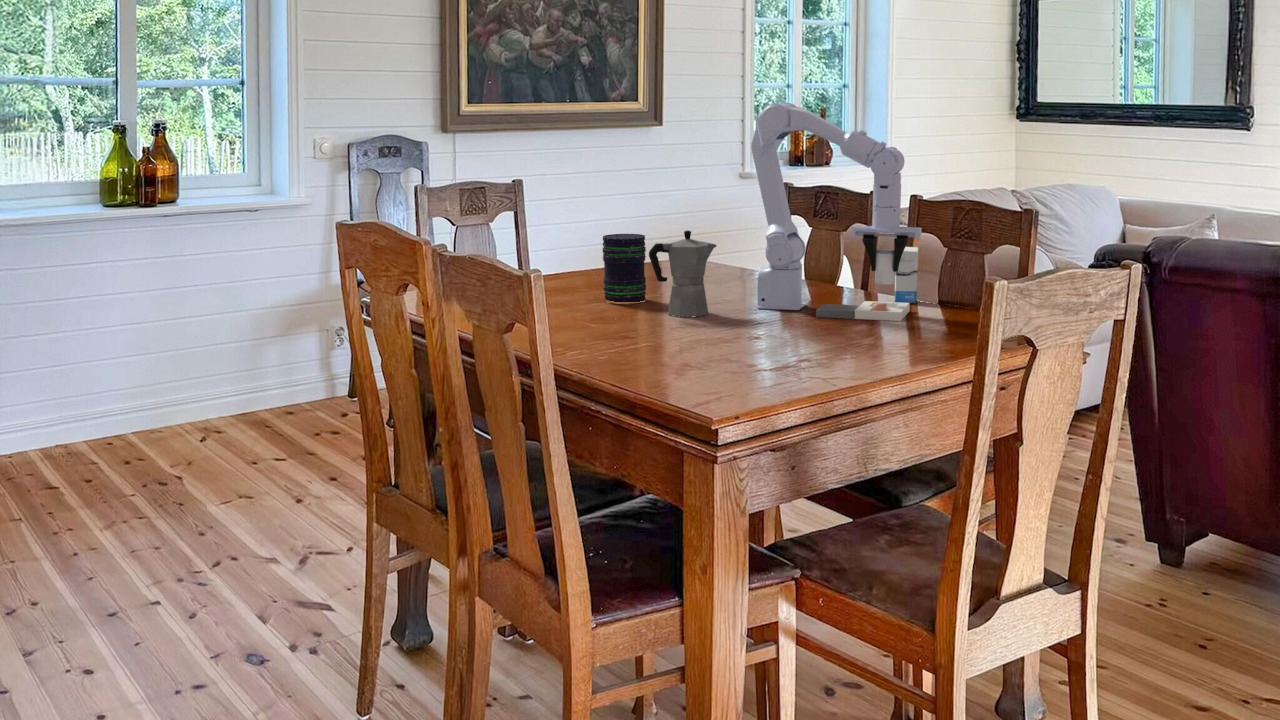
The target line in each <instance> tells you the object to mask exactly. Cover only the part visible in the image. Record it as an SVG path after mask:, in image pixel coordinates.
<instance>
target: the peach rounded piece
mask: <svg viewBox="0 0 1280 720" xmlns="http://www.w3.org/2000/svg"><path fill="white" fill-rule="evenodd" d="M873 311H887V304H886V303H873Z"/></svg>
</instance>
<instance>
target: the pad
mask: <svg viewBox="0 0 1280 720" xmlns="http://www.w3.org/2000/svg"><path fill="white" fill-rule="evenodd" d="M860 305H861V304H860ZM860 305H859V304H839V303H838V304H837V303H836V304H835V303H823V304H822V305H820V306H819V307H817V309H815V318H830V319H850V320H855V310H856V309H857V308H858V307H859V306H860Z"/></svg>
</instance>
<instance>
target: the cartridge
mask: <svg viewBox="0 0 1280 720" xmlns="http://www.w3.org/2000/svg"><path fill="white" fill-rule="evenodd" d="M893 267H894V249H891V248H890V249H889V248H880V249H877V250H876V262H875V271H874V283H875V285H876V284H877V285H881V286H882V285H886V286H887V285H889V286H890V285H895V272H894V270H893Z"/></svg>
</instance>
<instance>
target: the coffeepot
mask: <svg viewBox="0 0 1280 720" xmlns="http://www.w3.org/2000/svg"><path fill="white" fill-rule="evenodd" d="M683 234H684V239H681V240H675V241H672V242H667V243H663V242H662V243H660V242H659V243H655V244H654V245H653V246H652V247H651V248H650V250H649V251H648V257H649V260H650V263H651V266H652V269H653V272H654V275H655V278H656V280H657V281H658V282H659V283H661V282H662V283H665V282H667V281H668V277H666V276H665V277H664V276H663V275H662V267H661V266H660V262H659V257H658V255H657V254H658V253H664V254H665V253H666V254H668V260H669V266H670V267H669V268H670V275H671V277H672V284H671V289H670V290H671V292H670V298H669V305H668V312H667V314H668V316H670V315H674V316H680V317H679V318H693V317H692V316H701V317H704V316H703V315H706V316H707V314H708V315H709V309H708V304H707V303H708V302H707V295H706V290H705V288H706V287H705V283H704V282H705V279H704V276H705V274H706V266H707V265H706V264H707V261H708V259H709V257H710V255H711V253H712V252H713V250H714V249H715V248H716V247H717V244H715V243H711V242H706V241H700V240H695V239H691V236H692V235H691V234H692V231H691V230H684V231H683ZM674 316H673V317H674Z"/></svg>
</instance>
